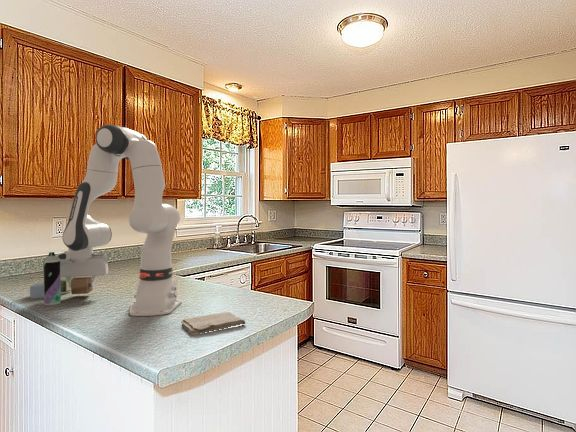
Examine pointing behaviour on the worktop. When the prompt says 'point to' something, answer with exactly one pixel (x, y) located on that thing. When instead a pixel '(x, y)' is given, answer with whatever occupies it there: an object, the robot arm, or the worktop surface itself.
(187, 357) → the worktop surface
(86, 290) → the walnut block
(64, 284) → the coffee can
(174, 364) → the worktop surface
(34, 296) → the slate block
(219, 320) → the washcloth
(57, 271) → the spray can
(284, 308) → the worktop surface
